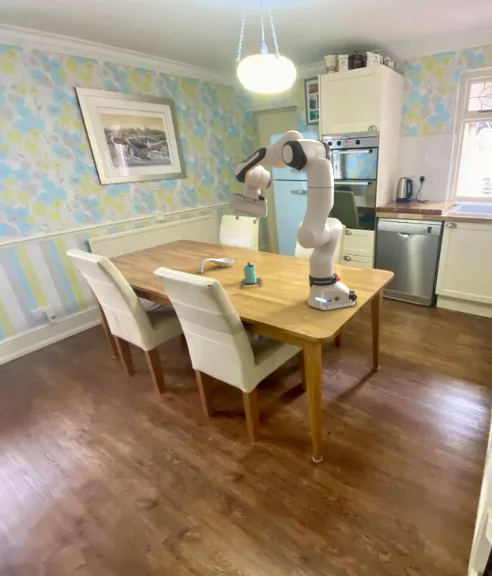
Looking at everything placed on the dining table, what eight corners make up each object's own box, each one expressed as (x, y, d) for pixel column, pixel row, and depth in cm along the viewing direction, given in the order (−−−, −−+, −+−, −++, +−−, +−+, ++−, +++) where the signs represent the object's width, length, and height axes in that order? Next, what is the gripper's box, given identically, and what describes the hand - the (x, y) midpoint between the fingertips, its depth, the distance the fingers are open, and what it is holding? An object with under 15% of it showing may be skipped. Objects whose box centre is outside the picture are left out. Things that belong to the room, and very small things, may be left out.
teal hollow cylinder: (256, 279, 179) (255, 264, 175) (256, 283, 173) (254, 267, 170) (246, 280, 178) (244, 264, 175) (245, 283, 173) (243, 268, 169)
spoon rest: (228, 261, 215) (227, 251, 212) (238, 265, 207) (237, 254, 205) (195, 271, 199) (193, 260, 197) (204, 275, 192) (202, 263, 189)
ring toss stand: (261, 280, 181) (258, 259, 176) (260, 286, 172) (257, 264, 167) (243, 281, 180) (240, 260, 176) (241, 288, 171) (238, 266, 166)
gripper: (230, 189, 166) (225, 215, 166) (269, 199, 168) (264, 224, 168) (232, 192, 172) (227, 217, 172) (270, 201, 174) (264, 226, 175)
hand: (245, 221), depth 170 cm, fingers open, 8 cm apart
